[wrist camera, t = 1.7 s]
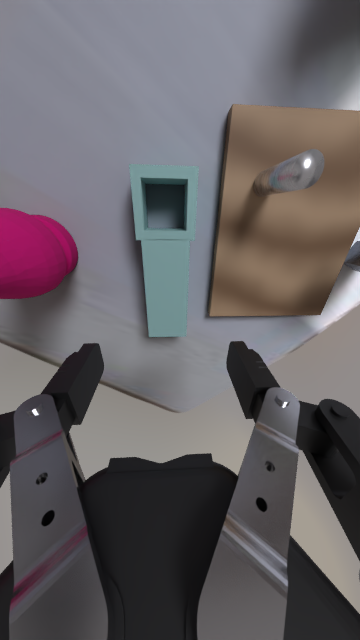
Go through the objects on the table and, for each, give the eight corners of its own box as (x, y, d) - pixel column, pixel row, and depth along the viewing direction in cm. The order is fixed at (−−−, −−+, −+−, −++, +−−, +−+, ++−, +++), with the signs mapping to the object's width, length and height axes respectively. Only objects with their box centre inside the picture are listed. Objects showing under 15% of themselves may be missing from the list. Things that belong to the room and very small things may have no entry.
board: (228, 111, 16) (232, 104, 15) (394, 119, 16) (410, 113, 15) (207, 312, 25) (209, 316, 24) (314, 310, 26) (320, 315, 25)
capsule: (250, 172, 18) (298, 148, 11) (270, 173, 18) (329, 149, 11) (246, 197, 19) (288, 188, 12) (265, 197, 19) (317, 189, 12)
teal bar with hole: (187, 321, 26) (189, 336, 23) (147, 322, 25) (145, 337, 22) (193, 174, 18) (198, 166, 15) (135, 172, 17) (129, 164, 14)
